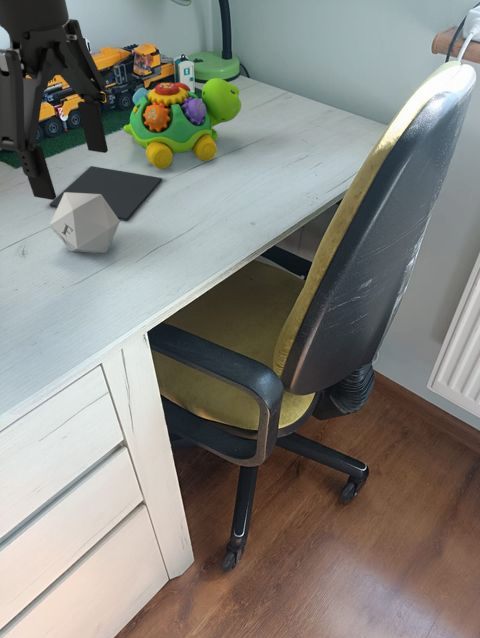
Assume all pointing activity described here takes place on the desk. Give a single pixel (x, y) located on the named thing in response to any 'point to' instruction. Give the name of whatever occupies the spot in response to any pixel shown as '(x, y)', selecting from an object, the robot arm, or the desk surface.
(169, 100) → the turtle toy
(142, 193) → the mat
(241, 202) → the desk surface
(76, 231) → the die
